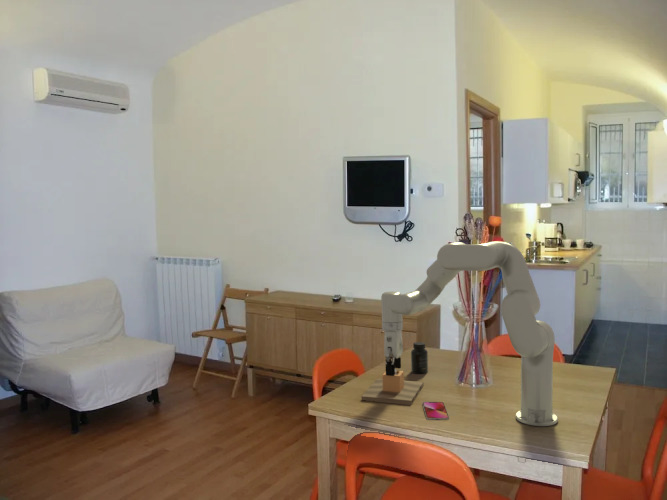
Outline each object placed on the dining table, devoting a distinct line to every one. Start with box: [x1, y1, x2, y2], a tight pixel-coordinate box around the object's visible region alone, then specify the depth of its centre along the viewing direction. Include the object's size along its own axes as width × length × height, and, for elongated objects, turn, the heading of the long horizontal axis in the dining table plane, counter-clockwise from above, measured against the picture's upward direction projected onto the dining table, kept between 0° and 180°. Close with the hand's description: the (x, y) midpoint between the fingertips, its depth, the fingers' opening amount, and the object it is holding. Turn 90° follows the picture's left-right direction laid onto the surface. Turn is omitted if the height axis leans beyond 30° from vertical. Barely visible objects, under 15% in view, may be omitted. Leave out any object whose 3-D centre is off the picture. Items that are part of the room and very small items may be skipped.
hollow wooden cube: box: [382, 370, 405, 392], centre depth 218 cm, size 6×6×6 cm
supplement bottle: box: [410, 341, 429, 375], centre depth 243 cm, size 7×7×12 cm
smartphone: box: [422, 401, 450, 421], centre depth 198 cm, size 7×1×15 cm
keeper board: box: [360, 378, 424, 406], centre depth 218 cm, size 22×18×2 cm
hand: (393, 371), depth 217 cm, fingers open, 9 cm apart
